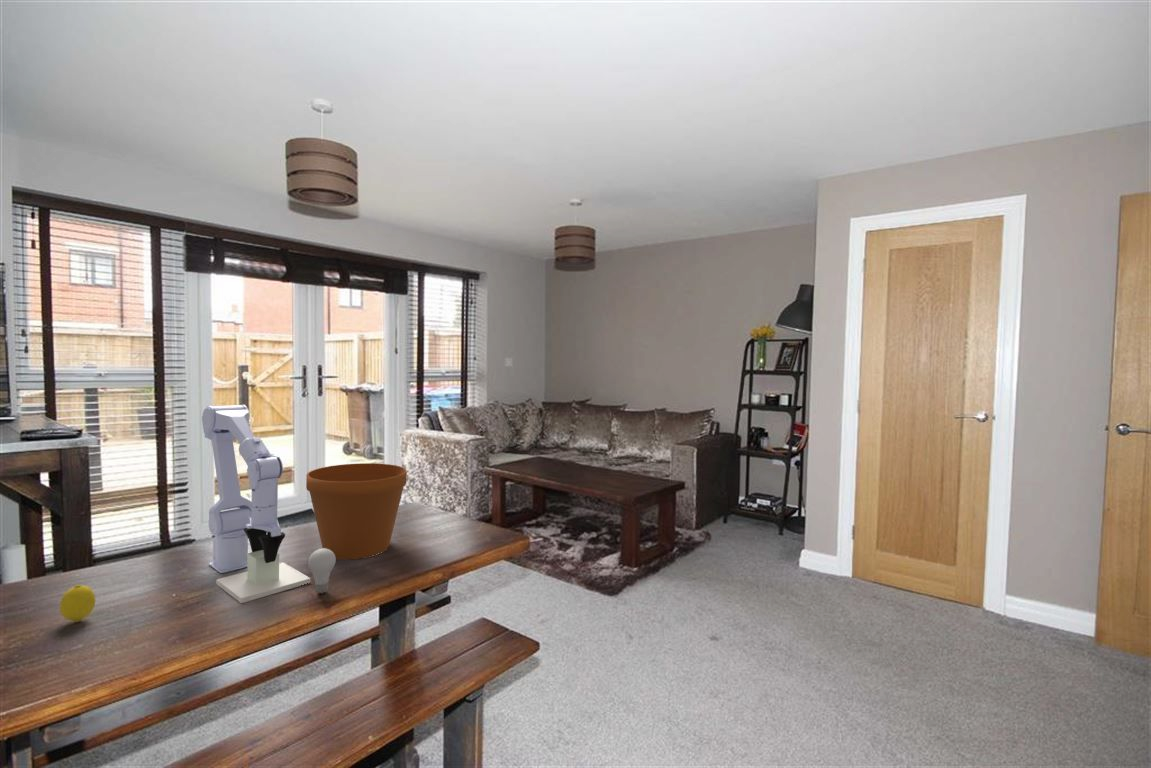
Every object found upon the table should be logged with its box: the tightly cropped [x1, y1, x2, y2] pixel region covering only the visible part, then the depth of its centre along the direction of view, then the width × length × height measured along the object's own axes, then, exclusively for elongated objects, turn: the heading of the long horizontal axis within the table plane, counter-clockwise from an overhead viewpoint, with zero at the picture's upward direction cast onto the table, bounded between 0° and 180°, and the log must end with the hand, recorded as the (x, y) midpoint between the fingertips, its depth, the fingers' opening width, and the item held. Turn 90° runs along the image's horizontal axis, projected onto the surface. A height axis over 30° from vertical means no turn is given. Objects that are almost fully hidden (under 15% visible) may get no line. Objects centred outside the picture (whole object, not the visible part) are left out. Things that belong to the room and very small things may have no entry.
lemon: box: [59, 584, 96, 623], centre depth 115 cm, size 6×6×8 cm
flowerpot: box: [305, 462, 408, 561], centre depth 163 cm, size 28×28×24 cm
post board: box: [215, 562, 311, 604], centre depth 137 cm, size 16×16×6 cm
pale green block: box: [246, 550, 280, 585], centre depth 137 cm, size 5×5×7 cm
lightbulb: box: [307, 548, 337, 594], centre depth 132 cm, size 6×6×11 cm
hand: (263, 557), depth 137 cm, fingers open, 7 cm apart
